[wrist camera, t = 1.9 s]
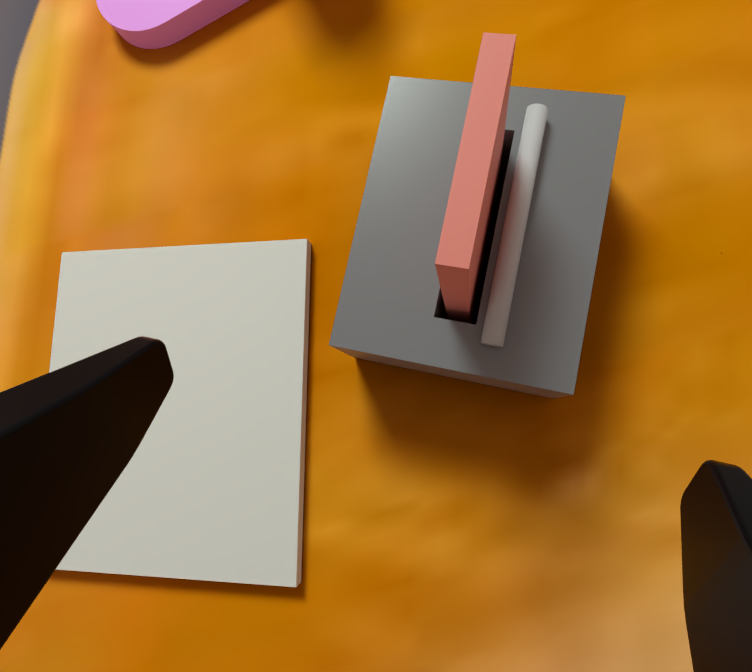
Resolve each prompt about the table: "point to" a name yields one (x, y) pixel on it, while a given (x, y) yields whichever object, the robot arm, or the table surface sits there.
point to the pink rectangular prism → (475, 179)
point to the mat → (201, 407)
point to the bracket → (162, 18)
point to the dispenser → (510, 243)
